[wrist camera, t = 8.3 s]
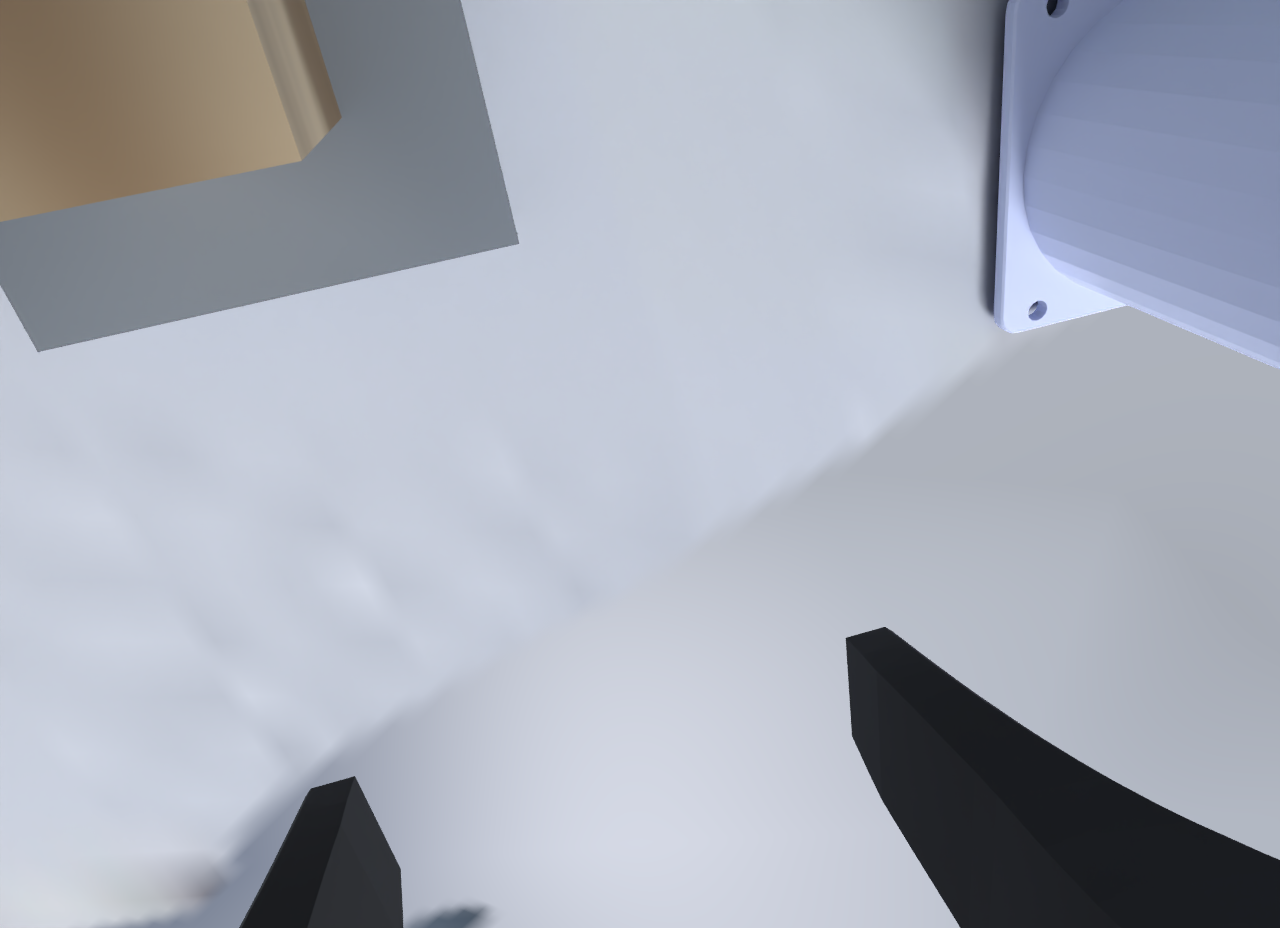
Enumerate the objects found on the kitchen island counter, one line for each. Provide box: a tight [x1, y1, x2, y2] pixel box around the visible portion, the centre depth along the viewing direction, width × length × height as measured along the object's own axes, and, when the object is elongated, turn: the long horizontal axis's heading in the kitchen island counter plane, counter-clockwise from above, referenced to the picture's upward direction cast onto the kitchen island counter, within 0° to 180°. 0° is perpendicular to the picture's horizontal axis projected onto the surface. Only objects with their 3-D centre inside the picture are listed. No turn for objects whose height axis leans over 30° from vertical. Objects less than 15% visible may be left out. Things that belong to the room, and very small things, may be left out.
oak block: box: [0, 0, 342, 222], centre depth 11 cm, size 4×4×5 cm
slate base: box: [0, 0, 519, 352], centre depth 15 cm, size 9×9×2 cm
